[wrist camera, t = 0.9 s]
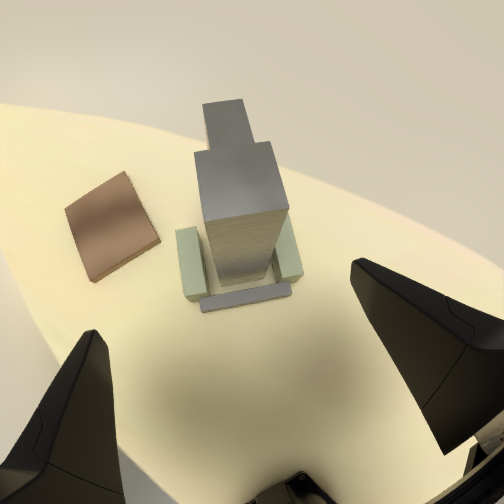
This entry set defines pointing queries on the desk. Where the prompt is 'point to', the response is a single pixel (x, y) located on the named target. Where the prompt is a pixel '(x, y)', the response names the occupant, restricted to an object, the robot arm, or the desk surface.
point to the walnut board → (110, 227)
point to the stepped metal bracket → (239, 194)
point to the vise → (198, 290)
